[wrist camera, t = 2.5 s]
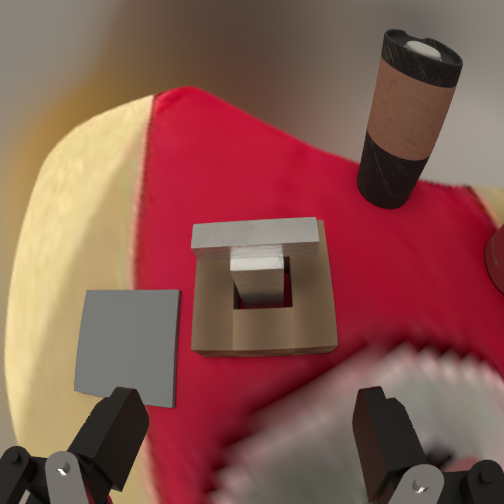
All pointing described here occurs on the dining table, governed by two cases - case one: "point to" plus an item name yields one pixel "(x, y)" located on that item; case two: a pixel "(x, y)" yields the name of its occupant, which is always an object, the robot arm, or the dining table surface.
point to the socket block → (266, 311)
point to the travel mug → (405, 115)
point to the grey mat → (129, 344)
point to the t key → (257, 253)
